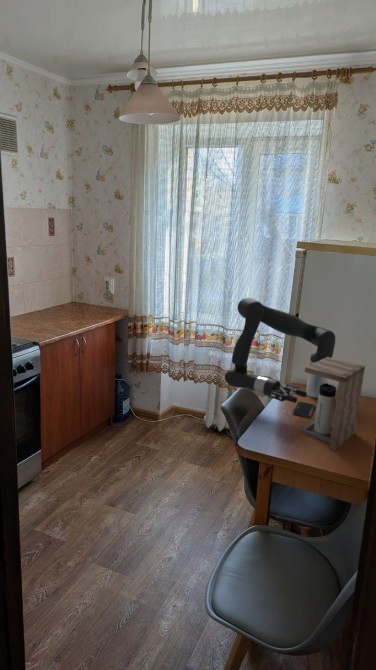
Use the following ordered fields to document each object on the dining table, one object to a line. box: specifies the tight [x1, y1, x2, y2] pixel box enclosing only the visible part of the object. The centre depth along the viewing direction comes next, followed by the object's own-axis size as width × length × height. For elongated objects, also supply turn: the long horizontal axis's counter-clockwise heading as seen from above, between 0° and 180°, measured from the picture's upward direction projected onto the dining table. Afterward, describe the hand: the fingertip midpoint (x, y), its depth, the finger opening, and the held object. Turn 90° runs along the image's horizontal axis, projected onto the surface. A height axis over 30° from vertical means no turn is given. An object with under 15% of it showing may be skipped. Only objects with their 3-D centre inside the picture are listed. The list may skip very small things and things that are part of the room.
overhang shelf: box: [304, 357, 366, 451], centre depth 180 cm, size 20×16×28 cm
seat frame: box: [300, 420, 333, 444], centre depth 184 cm, size 12×12×2 cm
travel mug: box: [313, 382, 337, 437], centre depth 182 cm, size 6×7×20 cm
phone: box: [292, 401, 316, 419], centre depth 206 cm, size 8×1×15 cm
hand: (301, 397), depth 188 cm, fingers open, 8 cm apart
